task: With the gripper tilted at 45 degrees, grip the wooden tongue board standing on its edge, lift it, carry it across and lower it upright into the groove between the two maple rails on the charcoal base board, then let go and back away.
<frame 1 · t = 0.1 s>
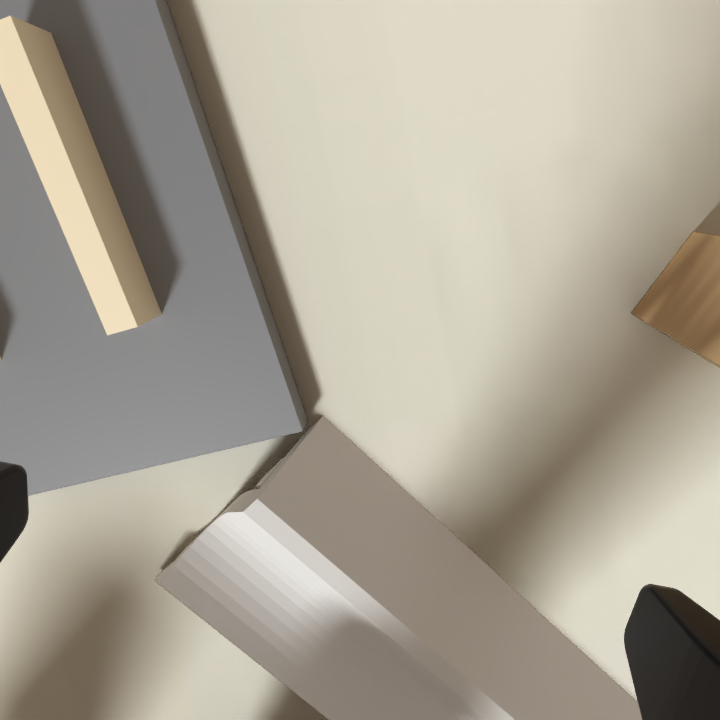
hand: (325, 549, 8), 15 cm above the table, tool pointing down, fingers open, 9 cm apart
groove board: (31, 214, 22), on the table
wooden tongue board: (705, 300, 21), on the table
crown molding: (474, 686, 28), on the table
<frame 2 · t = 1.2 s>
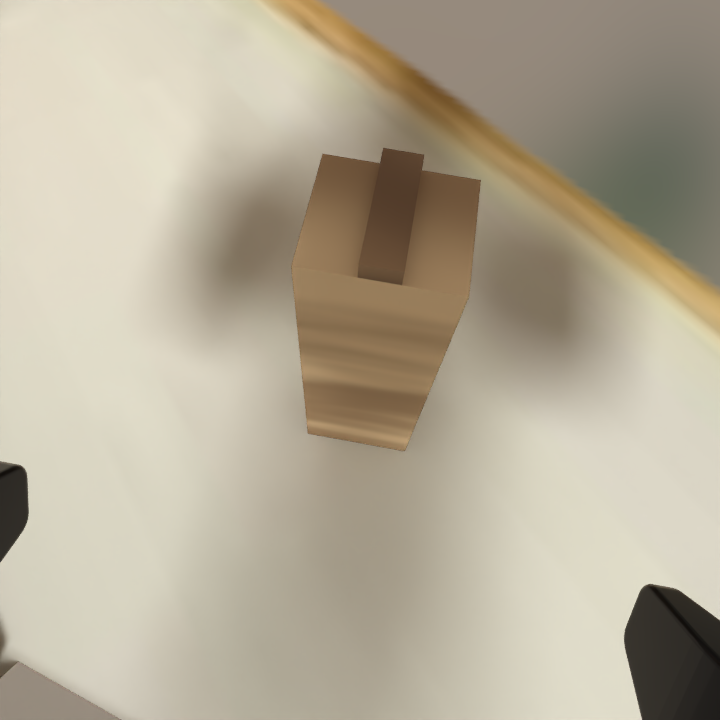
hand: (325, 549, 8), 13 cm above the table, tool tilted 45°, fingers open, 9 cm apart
wooden tongue board: (363, 402, 23), on the table
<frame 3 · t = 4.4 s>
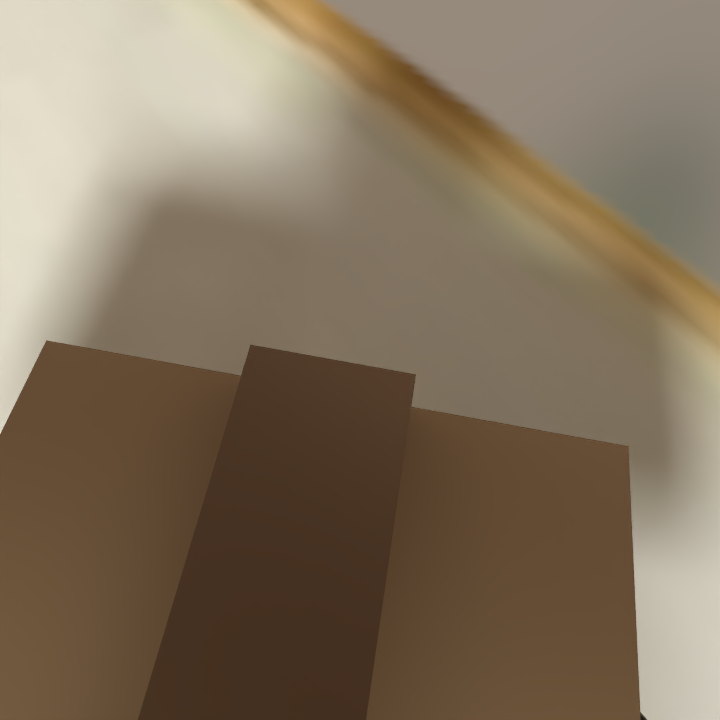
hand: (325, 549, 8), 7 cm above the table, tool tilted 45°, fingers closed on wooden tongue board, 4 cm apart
wooden tongue board: (315, 647, 13), on the table, touching gripper
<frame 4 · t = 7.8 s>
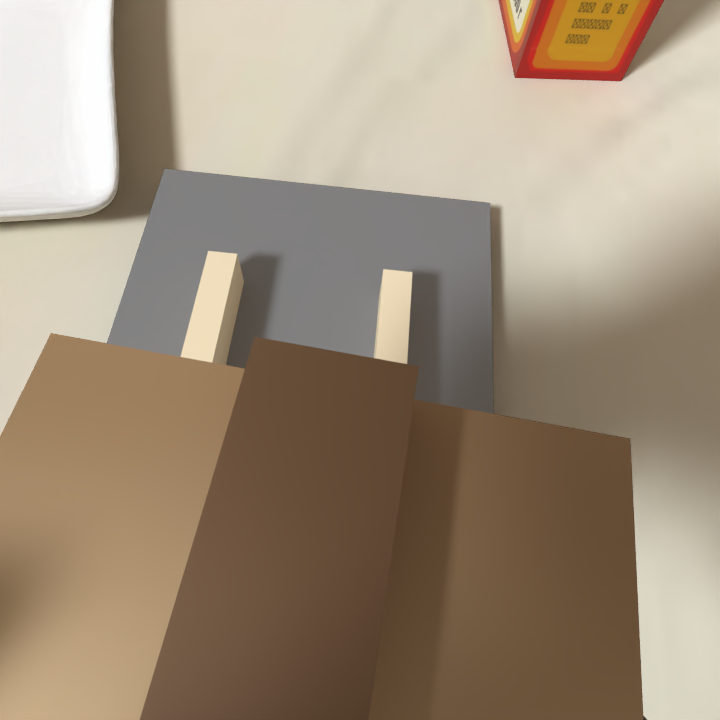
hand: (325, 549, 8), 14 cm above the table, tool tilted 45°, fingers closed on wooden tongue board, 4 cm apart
groove board: (297, 403, 23), on the table
wooden tongue board: (316, 644, 13), point 7 cm above the table, touching gripper
baking soda box: (553, 32, 36), on the table
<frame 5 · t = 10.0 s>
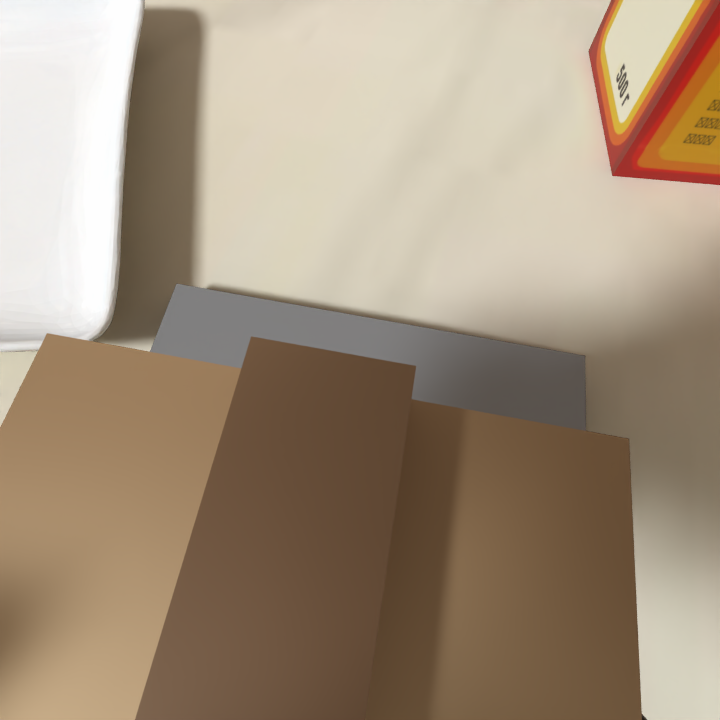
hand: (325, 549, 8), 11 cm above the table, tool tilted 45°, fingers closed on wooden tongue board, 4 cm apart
groove board: (320, 632, 18), on the table
wooden tongue board: (315, 645, 13), point 5 cm above the table, touching gripper
baking soda box: (658, 117, 30), on the table
when the fingers open (9 cm above the table, at t = 11.6 s): wooden tongue board stays where it is, resting on groove board.
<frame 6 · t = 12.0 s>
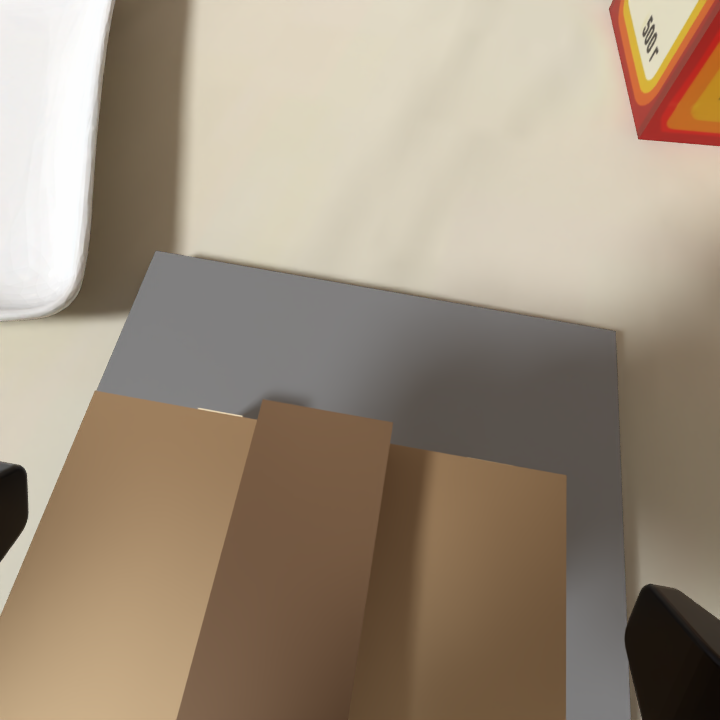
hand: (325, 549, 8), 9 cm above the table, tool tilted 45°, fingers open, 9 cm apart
groove board: (317, 645, 15), on the table
wooden tongue board: (315, 643, 14), point 1 cm above the table, touching groove board
baking soda box: (686, 78, 27), on the table
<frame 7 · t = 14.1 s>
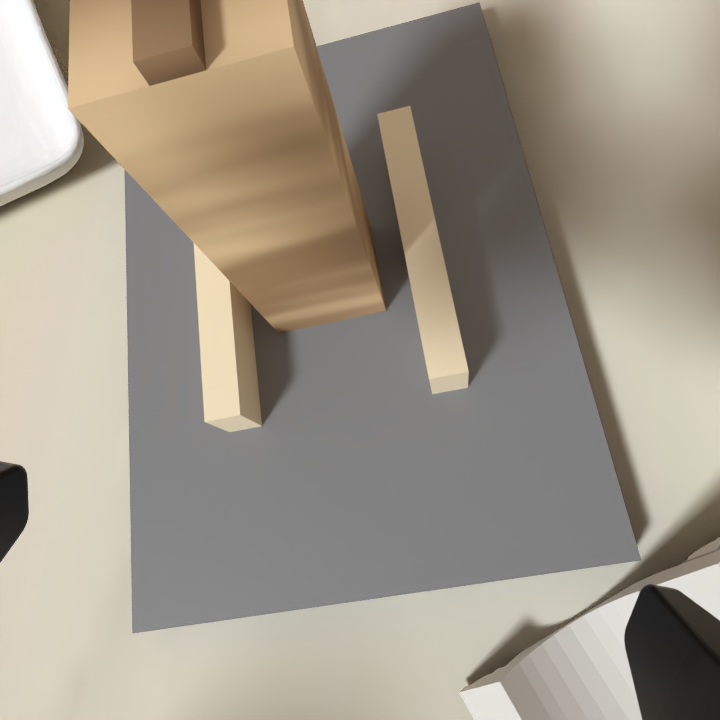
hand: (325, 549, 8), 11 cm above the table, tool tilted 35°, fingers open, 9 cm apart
groove board: (333, 292, 22), on the table
wooden tongue board: (325, 279, 21), point 1 cm above the table, touching groove board
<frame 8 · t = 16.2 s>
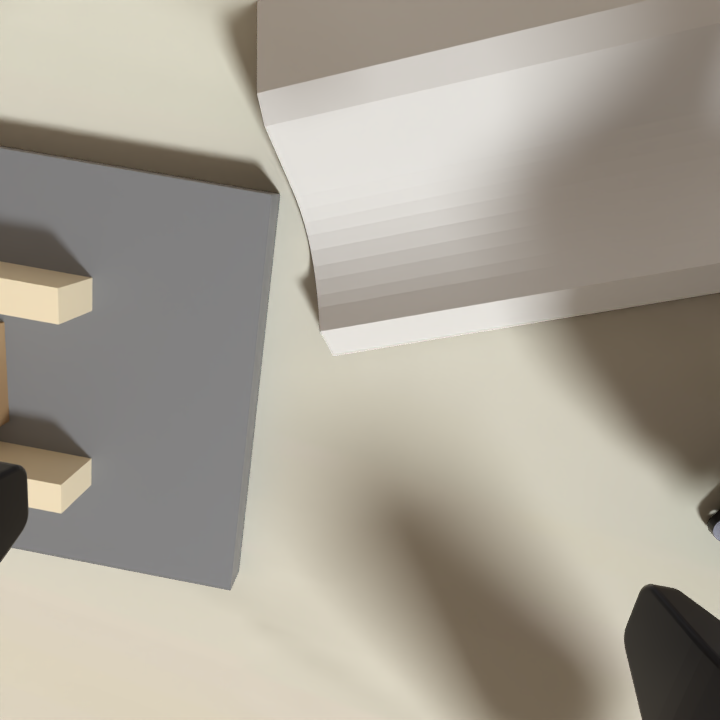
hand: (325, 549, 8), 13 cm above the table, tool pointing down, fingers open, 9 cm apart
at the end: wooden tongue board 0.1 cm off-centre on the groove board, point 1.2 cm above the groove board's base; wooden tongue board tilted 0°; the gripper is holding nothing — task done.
